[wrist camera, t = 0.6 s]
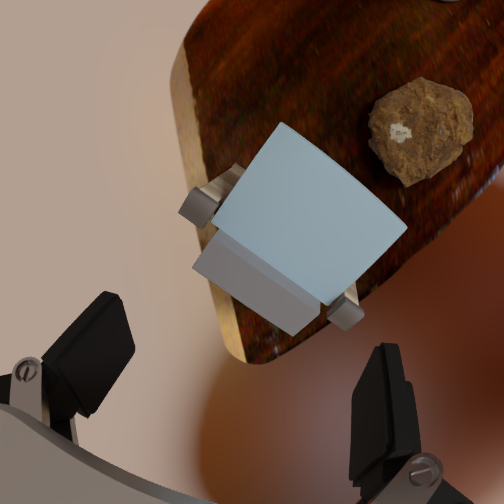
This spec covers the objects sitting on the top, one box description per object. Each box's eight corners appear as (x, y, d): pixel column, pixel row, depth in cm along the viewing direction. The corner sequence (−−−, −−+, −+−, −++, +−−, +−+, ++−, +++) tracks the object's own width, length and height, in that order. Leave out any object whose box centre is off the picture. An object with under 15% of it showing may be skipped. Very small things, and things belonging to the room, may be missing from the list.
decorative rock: (434, 59, 24) (348, 120, 31) (444, 53, 20) (349, 120, 27) (483, 135, 26) (401, 195, 33) (497, 138, 22) (409, 204, 29)
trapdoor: (284, 121, 24) (277, 122, 20) (399, 216, 25) (413, 237, 21) (201, 239, 31) (183, 261, 27) (304, 311, 33) (300, 341, 28)
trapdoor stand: (233, 161, 35) (192, 187, 24) (354, 253, 37) (365, 314, 26) (221, 180, 37) (177, 214, 25) (339, 268, 39) (344, 332, 27)
